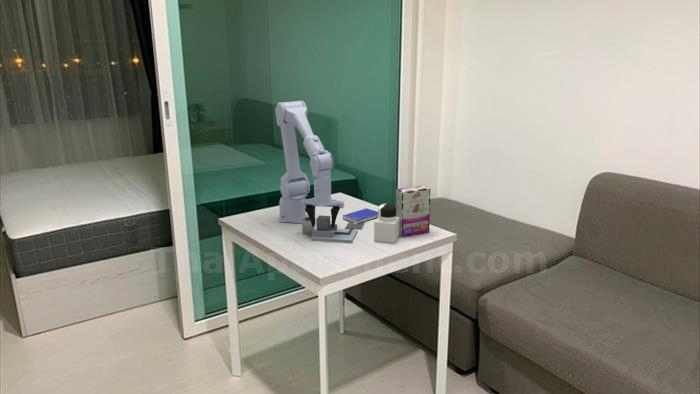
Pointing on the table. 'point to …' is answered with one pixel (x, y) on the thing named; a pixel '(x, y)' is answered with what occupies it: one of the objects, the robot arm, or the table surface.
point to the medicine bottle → (386, 224)
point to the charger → (323, 223)
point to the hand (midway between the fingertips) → (323, 226)
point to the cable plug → (307, 226)
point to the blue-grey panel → (335, 235)
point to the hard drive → (361, 215)
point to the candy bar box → (413, 210)
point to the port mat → (354, 225)
